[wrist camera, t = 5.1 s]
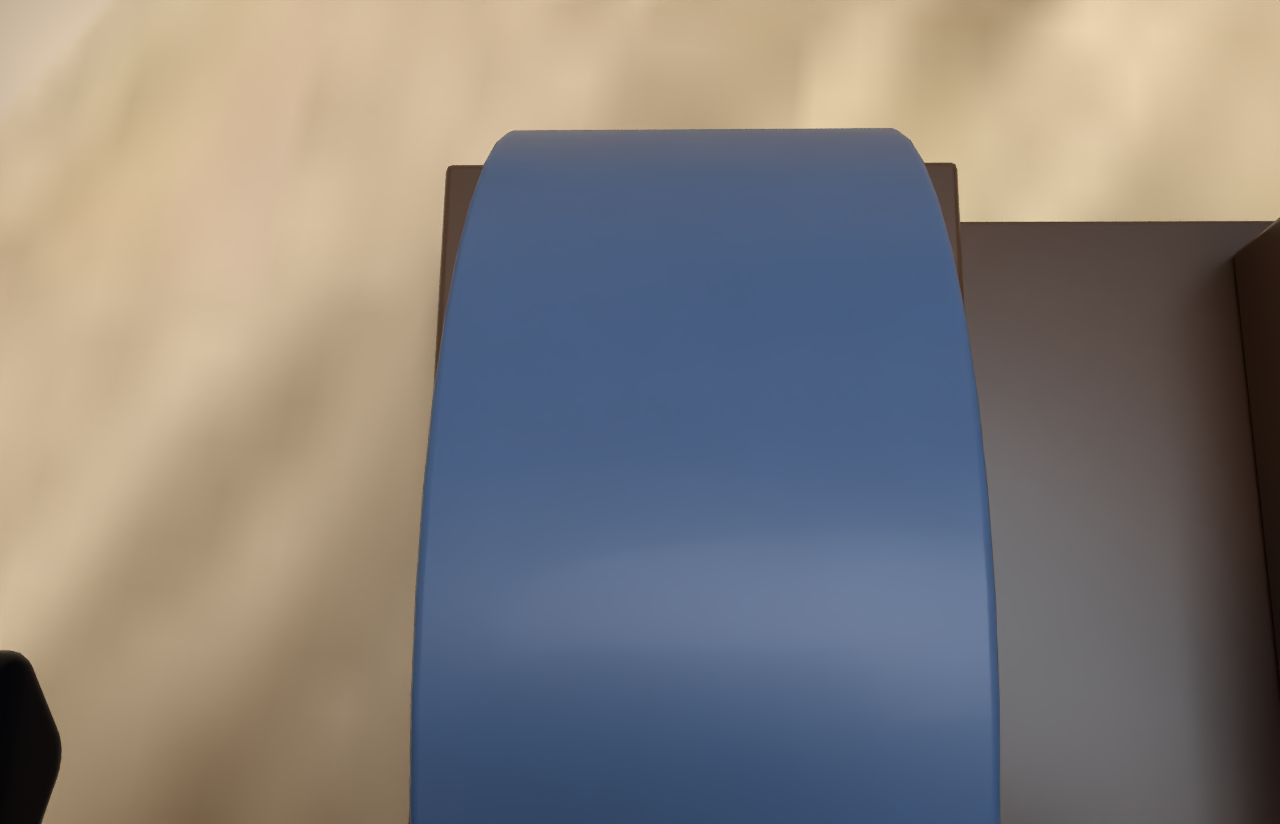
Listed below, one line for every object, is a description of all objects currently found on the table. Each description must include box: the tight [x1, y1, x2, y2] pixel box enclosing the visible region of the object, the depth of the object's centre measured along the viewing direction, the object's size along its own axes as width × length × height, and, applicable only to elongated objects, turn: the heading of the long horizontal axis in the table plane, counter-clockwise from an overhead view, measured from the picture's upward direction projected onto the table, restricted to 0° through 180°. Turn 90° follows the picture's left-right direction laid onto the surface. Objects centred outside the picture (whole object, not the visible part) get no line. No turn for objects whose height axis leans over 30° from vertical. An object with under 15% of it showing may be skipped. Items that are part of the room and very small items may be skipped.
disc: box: [410, 128, 1000, 824], centre depth 11 cm, size 9×3×9 cm, turn 179°
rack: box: [408, 163, 1280, 824], centre depth 14 cm, size 12×12×4 cm
